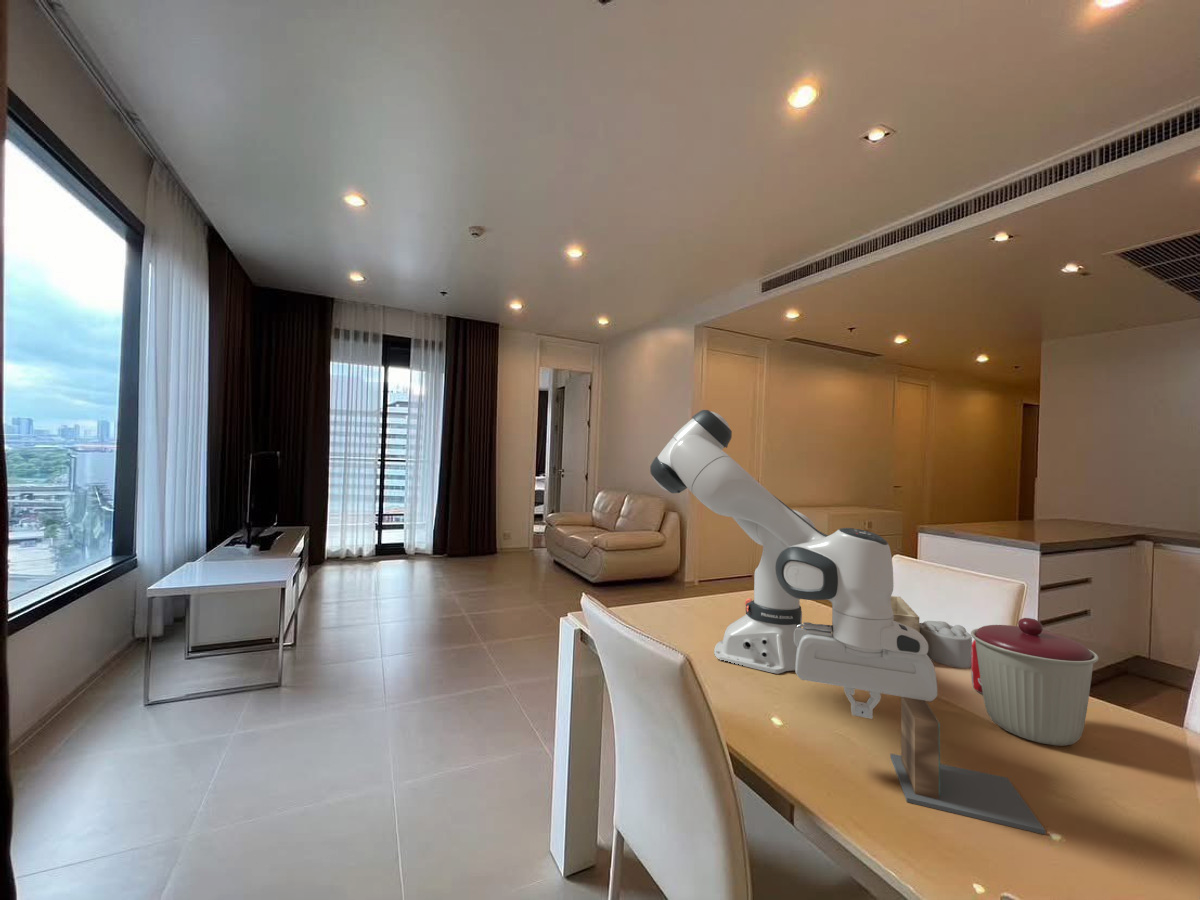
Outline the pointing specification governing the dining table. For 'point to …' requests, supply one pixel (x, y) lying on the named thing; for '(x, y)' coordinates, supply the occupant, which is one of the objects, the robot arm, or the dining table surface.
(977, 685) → the soda can
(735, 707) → the dining table surface
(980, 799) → the rubber mat
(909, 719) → the walnut slab
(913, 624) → the birch crate
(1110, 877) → the dining table surface
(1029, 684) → the canister
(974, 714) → the dining table surface
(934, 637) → the lumpy-topped squat cylinder
